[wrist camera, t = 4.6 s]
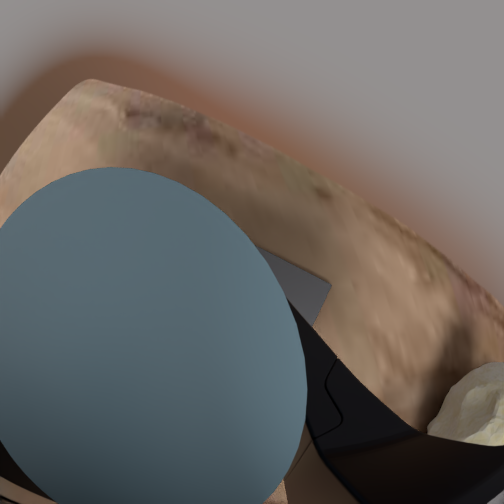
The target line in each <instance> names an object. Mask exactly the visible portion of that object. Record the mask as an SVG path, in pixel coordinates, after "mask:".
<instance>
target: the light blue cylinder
mask: <svg viewBox="0 0 504 504" xmlns="http://www.w3.org/2000/svg"><path fill="white" fill-rule="evenodd" d="M306 402H307V380H306V368H305V358H304V353H303V349H302V345H301V341H300V337H299V332H298V328H297V324H296V322H295V319H294V317H293V314H292V312H291V309H290V307H289V304H288V301H287V299H286V296H285V294H284V292H283V290H282V288H281V286H280V285H279V283H278V281H277V279H276V277H275V276H274V274H273V272H272V270H271V268H270V267H269V265H268V263H267V262H266V260H265V259H264V258H263V256H262V255H261V254H260V252H259V251H258V250H257V248H256V247H255V246H254V244H253V243H252V242H251V240H250V239H249V238H248V236H247V235H246V234H245V233H244V232H243V231H242V230H241V229H240V228H239V227H238V226H237V225H236V224H235V223H234V222H233V221H232V220H231V219H230V218H229V217H228V216H227V215H226V214H225V213H224V212H223V211H221V210H220V209H219V208H217V207H216V206H215V205H214V204H212V203H211V202H210V201H208V200H207V199H206V198H204V197H203V196H202V195H200V194H198V193H197V192H195V191H193V190H191V189H189V188H188V187H186V186H184V185H182V184H180V183H179V182H176V181H174V180H171V179H169V178H166V177H163V176H161V175H158V174H155V173H151V172H147V171H142V170H137V169H132V168H115V167H107V168H97V169H89V170H85V171H81V172H77V173H74V174H70V175H67V176H65V177H63V178H60V179H58V180H56V181H54V182H51V183H50V184H48V185H47V186H45V187H43V188H42V189H40V190H38V191H37V192H35V193H34V194H33V195H32V196H30V197H29V198H28V199H27V200H26V201H24V202H23V203H22V204H21V205H20V206H19V207H18V208H17V209H16V210H15V211H14V212H13V213H12V214H11V216H10V217H9V218H8V219H7V220H6V222H5V223H4V224H3V226H2V227H1V229H0V440H1V442H2V444H3V445H4V447H5V448H6V450H7V451H8V453H9V454H10V456H11V457H12V458H13V460H14V461H15V462H16V463H17V465H18V466H19V467H20V468H21V469H22V471H23V472H24V473H25V474H26V475H27V476H28V477H29V478H30V479H31V480H32V481H33V482H34V483H35V484H36V485H37V486H38V487H39V488H40V489H41V490H42V491H43V492H44V493H46V494H47V495H48V496H49V497H50V498H52V499H53V500H54V501H55V502H57V503H58V504H262V503H263V502H264V501H265V500H266V499H267V498H268V497H269V496H270V495H271V494H272V493H273V492H274V491H275V489H276V488H277V487H278V485H279V484H280V482H281V481H282V479H283V478H284V476H285V475H286V473H287V472H288V470H289V468H290V465H291V463H292V461H293V459H294V456H295V454H296V452H297V449H298V447H299V443H300V439H301V435H302V431H303V427H304V423H305V416H306Z"/></svg>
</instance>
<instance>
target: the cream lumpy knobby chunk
mask: <svg viewBox="0 0 504 504" xmlns="http://www.w3.org/2000/svg"><path fill="white" fill-rule="evenodd" d="M427 430H428V435H433V436H437V437H441V438H446V439H451V440H456V441H462V442H468V443H474V444H481V445H488V446H499V445H504V362H492V363H487V364H484V365H482V366H480V367H479V368H476V369H474V370H472V371H470V372H469V373H468V374H467V375H465V376H464V377H463V378H462V379H461V380H460V381H459V382H458V383H457V384H456V385H453V386H452V387H451V389H450V391H449V393H448V394H447V395H446V397H445V399H444V402H443V404H442V407H441V409H440V411H439V413H438V415H437V416H436V417H435V418H434V419H433V420H432V421H431V422H430V423H429V425H428V426H427Z"/></svg>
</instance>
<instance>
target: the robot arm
mask: <svg viewBox="0 0 504 504" xmlns="http://www.w3.org/2000/svg"><path fill="white" fill-rule="evenodd" d="M286 299H287V298H286ZM287 301H288V304H289V307H290V309H291V312H292V314H293V317H294V319H295V322H296V324H297V328H298V332H299V337H300V341H301V345H302V349H303V353H304V358H305V368H306V380H307V402H306V416H305V423H304V427H303V431H302V435H301V439H300V443H299V447H298V449H297V452H296V454H295V456H294V459H293V461H292V463H291V465H290V468H289V470H288V472H287V473H286V475H285V476H284V481H285V482H284V484H285V489H286V495H287V500H288V504H504V445H499V446H488V445H481V444H474V443H468V442H462V441H456V440H451V439H446V438H441V437H437V436H433V435H428V434H425V433H422V432H420V431H418V430H416V429H414V428H413V427H411V426H410V425H408V424H407V423H406V422H404V421H403V420H402V419H401V418H400V417H398V416H397V415H396V414H395V413H394V412H393V411H392V410H390V409H389V408H388V407H387V406H386V405H385V404H384V403H383V402H381V401H380V400H379V399H378V398H377V397H376V396H375V395H374V394H372V393H371V392H370V391H369V390H368V389H367V388H366V387H365V386H364V385H363V384H362V383H361V382H360V381H359V380H358V379H357V378H356V377H355V376H354V375H353V374H352V373H351V371H350V370H349V369H348V368H347V367H346V366H345V365H344V364H343V363H342V361H341V360H340V359H339V358H338V359H337V356H336V355H335V353H334V352H333V351H332V350H331V349H330V348H329V346H328V345H327V344H326V343H325V342H324V341H323V339H322V338H321V337H320V336H319V335H318V334H317V332H316V331H315V330H314V329H313V328H312V327H311V325H310V324H309V323H308V322H307V321H306V320H305V318H304V317H303V316H302V315H301V314H300V313H299V311H298V310H297V309H296V308H295V307H294V306H293V305H292V303H291V302H290V301H289V300H288V299H287ZM0 504H58V503H57V502H55V501H54V500H53V499H52V498H50V497H49V496H48V495H47V494H46V493H44V492H43V491H42V490H41V489H40V488H39V487H38V486H37V485H36V484H35V483H34V482H33V481H32V480H31V479H30V478H29V477H28V476H27V475H26V474H25V473H24V472H23V471H22V469H21V468H20V467H19V466H18V465H17V463H16V462H15V461H14V460H13V458H12V457H11V456H10V454H9V453H8V451H7V450H6V448H5V447H4V445H3V444H2V442H1V440H0Z"/></svg>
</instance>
